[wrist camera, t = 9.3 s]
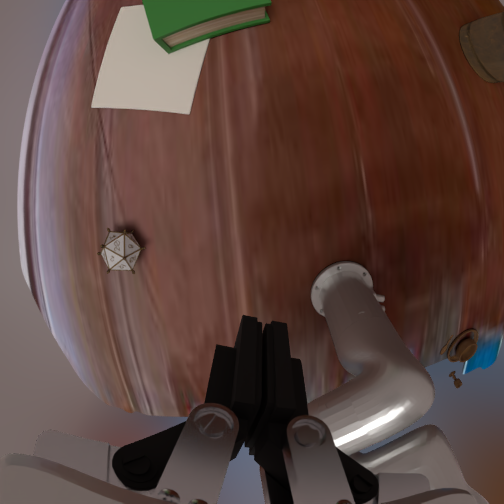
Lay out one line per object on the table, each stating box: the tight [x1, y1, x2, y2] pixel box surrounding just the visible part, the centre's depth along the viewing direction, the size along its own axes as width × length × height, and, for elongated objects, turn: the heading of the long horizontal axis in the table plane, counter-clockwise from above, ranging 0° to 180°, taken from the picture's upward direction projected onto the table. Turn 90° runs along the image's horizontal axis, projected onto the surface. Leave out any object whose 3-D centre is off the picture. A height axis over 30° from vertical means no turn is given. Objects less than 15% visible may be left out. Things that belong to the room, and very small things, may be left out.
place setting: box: [440, 329, 478, 388], centre depth 57 cm, size 18×20×6 cm
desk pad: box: [91, 5, 210, 115], centre depth 35 cm, size 20×22×1 cm
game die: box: [97, 228, 145, 274], centre depth 45 cm, size 9×8×10 cm
